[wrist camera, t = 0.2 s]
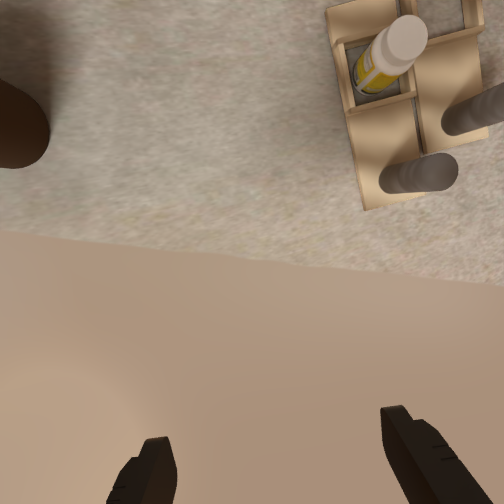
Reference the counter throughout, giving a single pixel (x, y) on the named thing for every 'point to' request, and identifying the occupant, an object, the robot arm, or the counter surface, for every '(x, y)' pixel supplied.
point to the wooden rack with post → (383, 117)
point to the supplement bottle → (389, 55)
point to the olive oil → (20, 128)
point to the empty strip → (454, 85)
